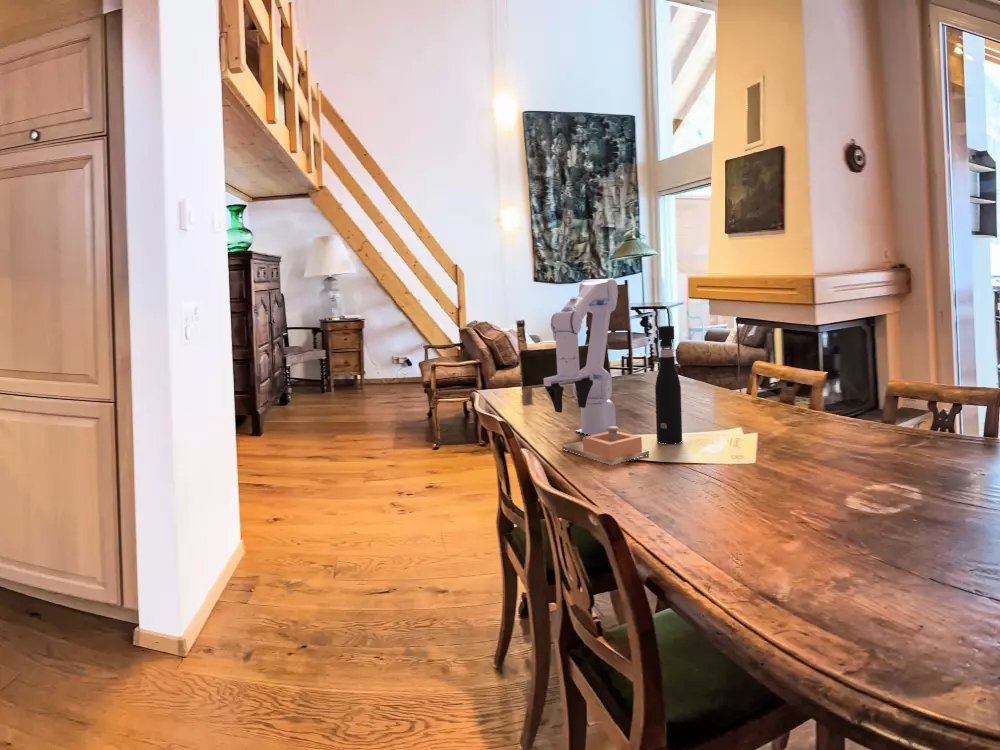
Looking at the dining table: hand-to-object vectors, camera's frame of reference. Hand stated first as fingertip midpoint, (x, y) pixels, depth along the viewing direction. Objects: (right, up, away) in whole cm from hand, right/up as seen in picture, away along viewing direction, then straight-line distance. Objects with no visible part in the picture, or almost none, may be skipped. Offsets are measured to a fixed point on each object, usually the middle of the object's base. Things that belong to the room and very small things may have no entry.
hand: (570, 409), depth 165 cm
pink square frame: (+9, -10, -10) cm, 16 cm away
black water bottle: (+26, -9, 0) cm, 27 cm away
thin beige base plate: (+8, -10, -7) cm, 15 cm away
